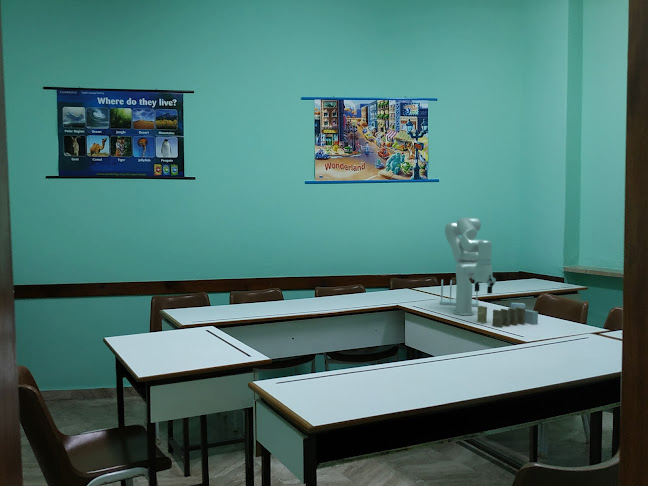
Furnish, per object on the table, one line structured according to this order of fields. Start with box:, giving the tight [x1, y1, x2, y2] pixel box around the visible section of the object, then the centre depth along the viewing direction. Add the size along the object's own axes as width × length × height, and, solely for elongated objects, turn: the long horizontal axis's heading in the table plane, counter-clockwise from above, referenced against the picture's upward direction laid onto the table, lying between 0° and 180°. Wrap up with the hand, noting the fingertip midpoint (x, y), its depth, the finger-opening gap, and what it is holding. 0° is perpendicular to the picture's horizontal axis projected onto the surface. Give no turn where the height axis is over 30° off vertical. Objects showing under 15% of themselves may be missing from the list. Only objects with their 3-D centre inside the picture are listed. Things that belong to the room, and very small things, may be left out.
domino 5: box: [515, 307, 526, 326], centre depth 354 cm, size 2×5×9 cm, turn 31°
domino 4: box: [507, 307, 518, 327], centre depth 351 cm, size 2×5×9 cm, turn 32°
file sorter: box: [439, 279, 480, 307], centre depth 421 cm, size 25×17×16 cm
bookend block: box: [525, 308, 539, 326], centre depth 358 cm, size 4×10×7 cm, turn 32°
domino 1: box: [476, 305, 488, 324], centre depth 357 cm, size 2×5×9 cm, turn 32°
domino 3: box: [500, 308, 511, 328], centre depth 348 cm, size 2×5×9 cm, turn 32°
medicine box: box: [510, 302, 527, 309], centre depth 373 cm, size 8×4×9 cm, turn 84°
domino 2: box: [491, 309, 503, 328], centre depth 345 cm, size 2×5×9 cm, turn 32°
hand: (483, 292), depth 355 cm, fingers open, 9 cm apart
